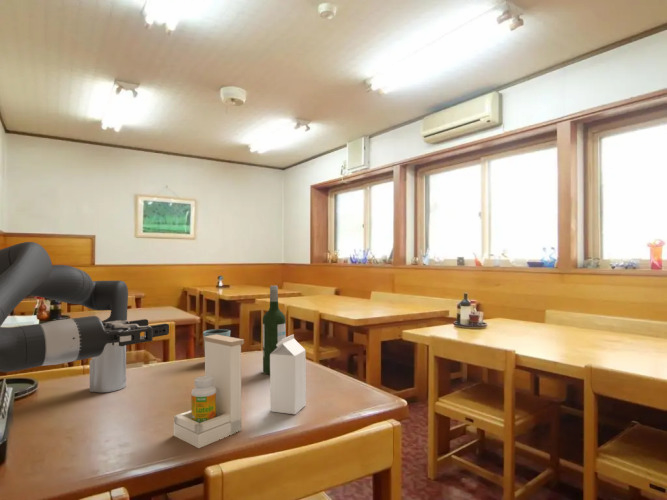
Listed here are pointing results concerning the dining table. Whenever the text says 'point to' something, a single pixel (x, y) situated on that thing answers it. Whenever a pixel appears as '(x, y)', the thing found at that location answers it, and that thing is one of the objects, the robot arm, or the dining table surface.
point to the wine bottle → (272, 328)
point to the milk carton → (287, 377)
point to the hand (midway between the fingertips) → (157, 326)
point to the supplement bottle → (203, 399)
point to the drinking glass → (216, 331)
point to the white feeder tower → (217, 394)
